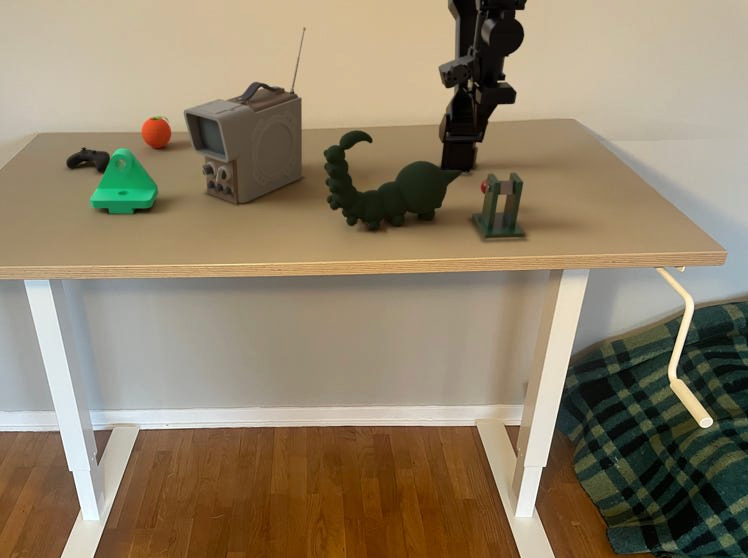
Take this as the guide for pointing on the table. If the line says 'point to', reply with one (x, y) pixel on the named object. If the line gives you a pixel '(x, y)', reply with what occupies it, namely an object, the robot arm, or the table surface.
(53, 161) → the table surface
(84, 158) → the gaming controller
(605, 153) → the table surface
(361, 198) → the toy figurine
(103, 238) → the table surface
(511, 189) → the lever
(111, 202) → the camera mount
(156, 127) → the clementine
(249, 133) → the portable television
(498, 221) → the bracket
